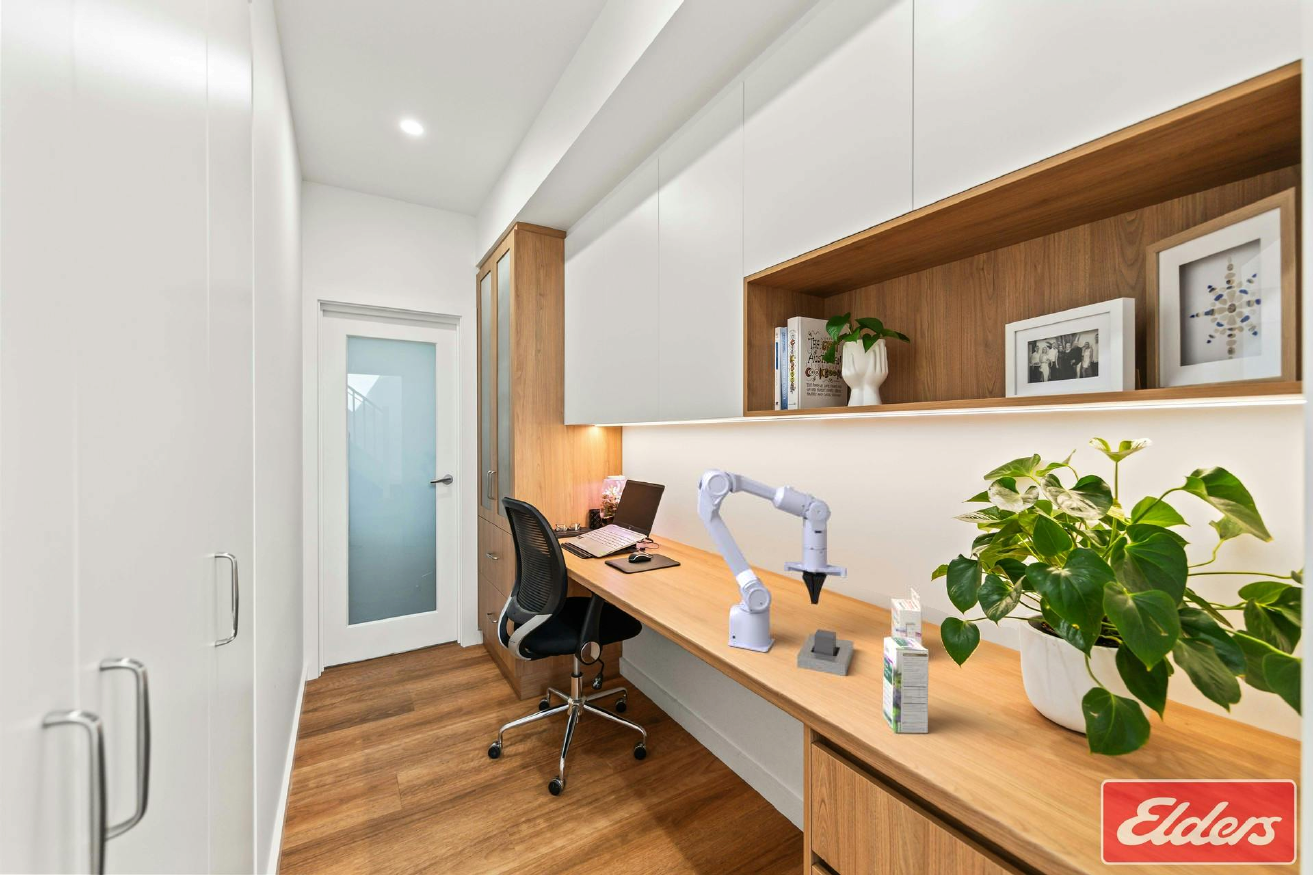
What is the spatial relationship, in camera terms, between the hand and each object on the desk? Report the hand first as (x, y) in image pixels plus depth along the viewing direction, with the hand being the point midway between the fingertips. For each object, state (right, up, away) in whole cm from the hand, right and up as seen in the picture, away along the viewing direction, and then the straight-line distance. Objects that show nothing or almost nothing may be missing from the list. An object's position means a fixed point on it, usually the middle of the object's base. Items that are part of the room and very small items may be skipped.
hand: (814, 603), depth 129 cm
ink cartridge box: (+19, -10, -6) cm, 23 cm away
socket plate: (0, -10, -9) cm, 13 cm away
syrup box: (+5, -10, -36) cm, 38 cm away
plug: (-1, -10, -10) cm, 14 cm away
